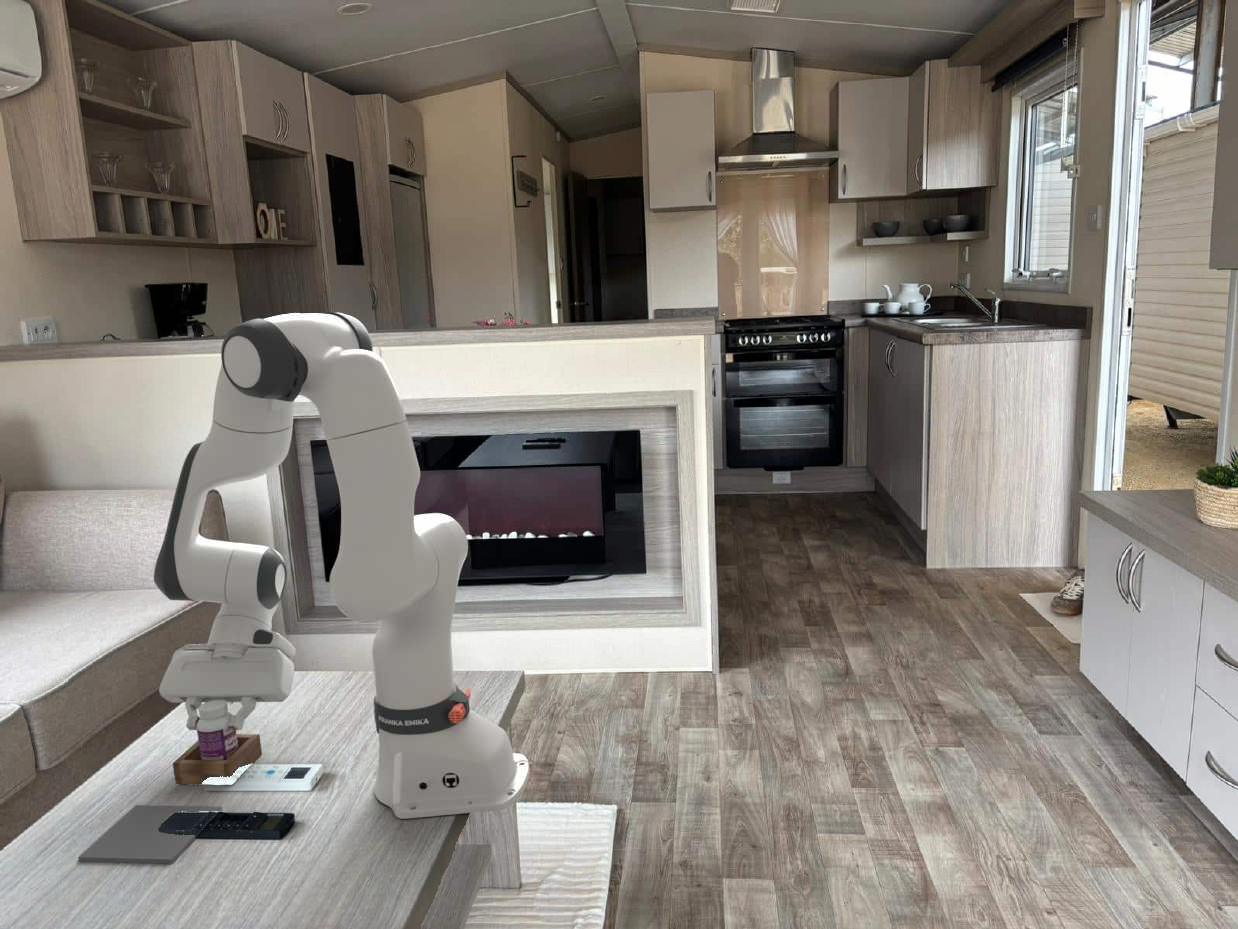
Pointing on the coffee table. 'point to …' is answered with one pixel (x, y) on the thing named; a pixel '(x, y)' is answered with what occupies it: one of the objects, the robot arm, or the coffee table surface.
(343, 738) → the coffee table surface
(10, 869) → the coffee table surface
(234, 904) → the coffee table surface
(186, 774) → the walnut collar
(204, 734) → the pill bottle
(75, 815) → the coffee table surface
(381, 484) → the robot arm
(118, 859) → the charcoal mat
